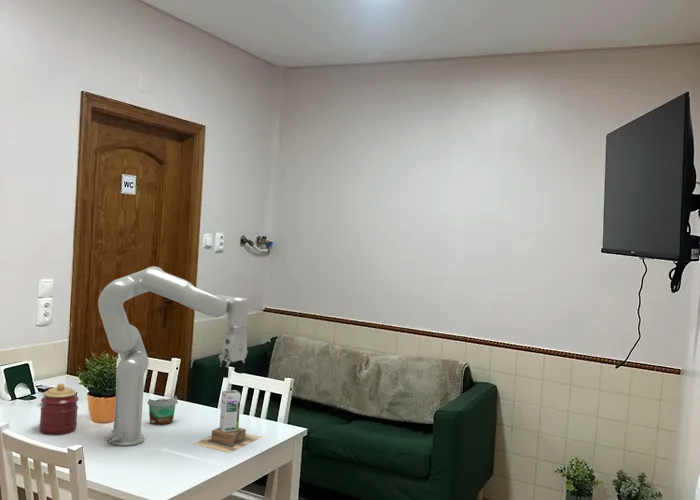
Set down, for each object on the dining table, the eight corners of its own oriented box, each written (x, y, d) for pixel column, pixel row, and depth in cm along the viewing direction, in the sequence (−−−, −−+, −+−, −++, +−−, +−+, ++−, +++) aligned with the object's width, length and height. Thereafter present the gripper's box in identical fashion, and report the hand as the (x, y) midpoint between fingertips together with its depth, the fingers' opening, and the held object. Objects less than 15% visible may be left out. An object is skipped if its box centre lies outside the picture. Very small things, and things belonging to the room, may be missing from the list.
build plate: (228, 456, 229) (229, 452, 229) (192, 447, 235) (192, 442, 235) (261, 440, 249) (262, 436, 249) (227, 431, 255) (227, 428, 255)
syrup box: (223, 432, 238) (226, 394, 238) (219, 427, 243) (221, 389, 243) (238, 431, 241) (241, 393, 240) (233, 426, 246) (236, 389, 246)
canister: (31, 429, 240) (34, 383, 240) (62, 422, 251) (65, 377, 251) (52, 438, 234) (55, 389, 233) (83, 430, 245) (87, 384, 244)
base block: (231, 446, 236) (232, 435, 236) (211, 441, 240) (212, 430, 240) (245, 439, 244) (245, 429, 244) (225, 434, 248) (226, 424, 248)
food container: (152, 427, 253) (154, 402, 253) (146, 423, 258) (147, 398, 258) (181, 423, 261) (183, 399, 261) (174, 419, 266) (176, 395, 266)
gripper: (231, 333, 232) (226, 380, 232) (257, 329, 247) (252, 373, 248) (214, 330, 235) (209, 377, 235) (240, 326, 250) (236, 369, 251)
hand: (231, 375), depth 241 cm, fingers open, 9 cm apart
